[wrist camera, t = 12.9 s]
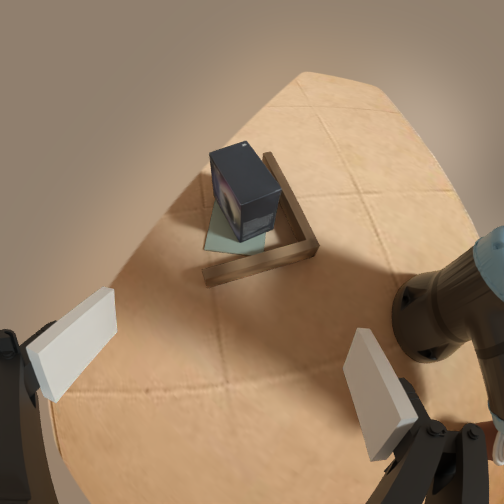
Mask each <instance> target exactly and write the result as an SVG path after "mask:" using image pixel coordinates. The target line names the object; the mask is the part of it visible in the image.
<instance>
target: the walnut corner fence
mask: <svg viewBox="0 0 504 504" xmlns="http://www.w3.org/2000/svg"><path fill="white" fill-rule="evenodd" d="M262 162H263V163H264V164H265V166H266V167H267V169H268V170H269V171H270V173H271V174H272V175H273V177H274V178H275V180H276V181H277V182H278V184H279V185H280V187H281V188H282V191H281V193H280V197H279V203H280V205H281V207H282V209H283V211H284V213H285V215H286V218H287V220H288V222H289V224H290V226H291V228H292V231H293V233H294V235H295V237H296V239H297V241H298V242H297V243H294V244H290V245H287V246H283V247H280V248H276V249H273V250H269V251H266V252H262V253H259V254H255V255H252V256H248V257H245V258H241V259H237V260H234V261H230V262H227V263H223V264H220V265H216V266H213V267H209V268H206V269H202V272H203V275H204V279H205V282H206V286H207V288H209V287H213V286H216V285H220V284H223V283H227V282H230V281H234V280H237V279H241V278H244V277H247V276H251V275H254V274H258V273H261V272H264V271H268V270H271V269H274V268H278V267H281V266H284V265H287V264H291V263H294V262H297V261H301V260H304V259H307V258H310V257H314V255H315V254H316V252H317V250H318V248H319V246H320V245H319V243H318V241H317V239H316V237H315V235H314V233H313V231H312V229H311V227H310V225H309V223H308V221H307V219H306V217H305V215H304V213H303V211H302V209H301V207H300V205H299V203H298V201H297V199H296V197H295V195H294V193H293V191H292V190H291V188H290V186H289V184H288V182H287V180H286V178H285V176H284V174H283V173H282V171H281V169H280V167H279V165H278V163H277V162H276V160H275V158H274V156H273V154H272V153H271V152H266V153H263V159H262Z"/></svg>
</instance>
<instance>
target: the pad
mask: <svg viewBox="0 0 504 504" xmlns="http://www.w3.org/2000/svg"><path fill="white" fill-rule="evenodd" d="M265 235H266V232H265V233H263V234H261V235H259V236H256V237H254V238H251V239H249V240H247V241H244V242H242V243H239V241H238V239H237V237H236V236H235V234H234V232H233V230H232V228H231V226H230V225H229V223H228V221H227V219H226V217H225V215H224V214H223V212H222V210H221V208H220V206H219V204H218V203H217V201H216V199H215V202H214V207H213V211H212V216H211V220H210V225H209V229H208V234H207V239H206V243H205V248H204V250H206V251H214V252H222V253H230V254H239V255H247V256H252V255H255V254H259V253H262V252H264V245H265Z"/></svg>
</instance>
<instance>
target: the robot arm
mask: <svg viewBox="0 0 504 504" xmlns="http://www.w3.org/2000/svg"><path fill="white" fill-rule="evenodd" d="M392 324H393V329H394V333H395V336H396V339H397V341H398V343H399V345H400V346H401V348H402V349H403V350H404V352H405V353H406V354H407V355H408V356H409V357H411V358H412V359H414V360H416V361H418V362H421V363H433V362H437V361H441V360H444V359H446V358H447V357H449V356H450V355H451V354H453V353H454V352H455V351H456V350H457V349H458V348H460V347H461V346H462V345H463V344H464V343H465V342H467V341H470V340H472V342H473V345H474V348H475V351H476V354H477V358H478V361H479V365H480V368H481V372H482V375H483V379H484V383H485V387H486V391H487V396H488V408H489V411H490V413H491V414H492V419H493V423H494V425H495V427H496V429H497V430H498V431H499V432H500V433H502V434H504V226H500V227H498V228H496V229H494V230H493V231H492V232H490V233H489V234H487V235H486V236H485V237H481V238H480V239H478V240H477V241H476V242H475V245H474V246H473V247H471V248H470V249H469V250H468V251H466V252H465V253H464V254H462V255H461V256H460V257H458V258H457V259H456V260H454V261H453V262H452V263H450V264H449V265H447V266H446V267H445V268H444V269H442V270H439V271H433V272H427V273H421V274H419V275H416V276H414V277H413V278H411V279H410V280H408V281H407V282H406V283H405V284H403V285H402V287H401V288H400V289H399V291H398V292H397V294H396V296H395V299H394V303H393V307H392ZM116 333H117V321H116V310H115V296H114V289H112V288H107V287H101V288H100V289H99V290H97V291H96V292H95V293H93V294H92V295H91V296H89V297H88V298H87V299H85V300H84V301H83V302H81V303H80V304H79V305H78V306H76V307H75V308H74V309H72V310H71V311H70V312H68V313H67V314H66V315H65V316H63V317H62V318H61V319H60V320H58V321H53V322H50V323H48V324H46V325H45V326H44V327H42V328H41V330H39V331H37V332H36V334H34V335H32V336H31V337H30V338H29V339H28V340H26V341H25V342H24V343H23V344H21V345H20V346H19V344H18V341H17V338H16V334H15V333H14V332H13V331H12V330H8V329H3V330H0V504H59V503H58V500H57V497H56V494H55V490H54V487H53V483H52V479H51V475H50V471H49V467H48V462H47V458H46V453H45V447H44V442H43V436H42V429H41V421H40V412H39V402H38V395H37V392H36V391H37V390H38V389H39V388H41V391H42V393H43V395H44V397H46V398H48V399H49V400H51V401H53V402H55V403H57V401H58V400H59V399H60V398H61V397H62V395H63V394H64V393H65V392H66V390H67V389H68V388H69V387H70V386H71V384H72V383H73V382H74V381H75V380H76V378H77V377H78V376H79V375H80V374H81V373H82V371H83V370H84V369H85V368H86V367H87V366H88V364H89V363H90V362H91V361H92V360H93V359H94V357H95V356H96V355H97V354H98V353H99V352H100V351H101V349H102V348H103V347H104V346H105V345H106V344H107V343H108V341H109V340H110V339H111V338H112V337H113V336H114V335H115V334H116ZM343 371H344V375H345V378H346V381H347V384H348V387H349V390H350V393H351V396H352V400H353V403H354V406H355V409H356V413H357V416H358V419H359V423H360V426H361V430H362V433H363V437H364V440H365V444H366V447H367V451H368V454H369V458H370V462H371V461H379V460H386V459H387V458H388V457H389V456H390V455H391V453H392V452H393V453H394V455H395V459H394V460H393V461H392V463H391V464H390V465H389V466H388V467H387V468H386V469H385V470H384V472H386V473H385V475H384V476H383V478H382V480H381V481H380V483H379V484H378V486H377V487H376V489H375V491H374V492H373V494H372V495H371V497H370V498H369V499H368V501H367V502H366V504H422V503H423V501H424V498H425V496H426V499H425V504H489V473H488V458H487V448H486V440H485V434H484V431H483V430H482V429H481V427H479V426H478V425H476V424H473V423H468V424H466V425H464V427H463V428H462V429H461V431H460V432H459V431H447V429H446V427H445V426H444V425H443V424H442V423H440V422H439V421H436V420H431V419H430V417H429V415H428V414H427V412H426V410H425V408H424V406H423V404H422V403H421V401H420V399H419V397H418V395H417V394H416V393H415V390H414V388H413V386H412V385H411V384H410V383H409V382H408V381H407V380H406V379H405V378H398V377H397V376H396V374H395V372H394V370H393V368H392V366H391V365H390V363H389V361H388V359H387V357H386V356H385V354H384V352H383V350H382V349H381V347H380V345H379V343H378V342H377V340H376V338H375V336H374V335H373V333H372V331H371V330H370V329H368V328H357V330H356V333H355V335H354V338H353V341H352V344H351V347H350V350H349V352H348V355H347V358H346V360H345V363H344V366H343Z"/></svg>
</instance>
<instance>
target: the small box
mask: <svg viewBox="0 0 504 504" xmlns="http://www.w3.org/2000/svg"><path fill="white" fill-rule="evenodd" d="M209 156H210V165H211V174H212V183H213V193H214V197H215V199H216V201H217V203H218V204H219V206H220V208H221V210H222V212H223V214H224V215H225V217H226V219H227V221H228V223H229V225H230V226H231V228H232V230H233V232H234V234H235V236H236V237H237V239H238V241H239V243H242V242H244V241H247V240H249V239H251V238H254V237H256V236H259V235H261V234H263V233H265V232H268V231H270V230H272V229H273V228H274V222H275V216H276V212H277V207H278V202H279V197H280V193H281V191H282V188H281V187H280V185H279V184H278V182H277V181H276V180H275V178H274V177H273V175H272V174H271V173H270V171H269V170H268V169H267V167H266V166H265V164H264V163H263V162H262V160H261V159H260V158H259V156H258V155H257V154H256V153H255V151H254V150H253V149H252V147H251V146H250V145H249V143H248V142H247V141H243V142H240V143H237V144H234V145H231V146H228V147H225V148H222V149H219V150H216V151H213V152H210V153H209Z"/></svg>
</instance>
